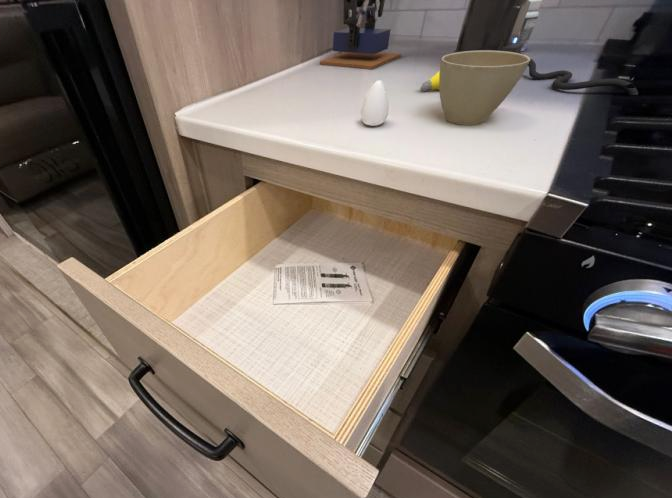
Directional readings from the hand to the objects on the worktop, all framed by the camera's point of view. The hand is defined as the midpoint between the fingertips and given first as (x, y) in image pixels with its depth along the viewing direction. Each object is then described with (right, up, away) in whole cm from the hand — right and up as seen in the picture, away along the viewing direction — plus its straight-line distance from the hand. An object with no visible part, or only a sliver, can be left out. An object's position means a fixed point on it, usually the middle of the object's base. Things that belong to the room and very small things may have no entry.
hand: (360, 45), depth 74 cm
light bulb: (+8, -22, -18) cm, 30 cm away
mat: (0, -2, +2) cm, 3 cm away
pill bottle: (+34, -3, -2) cm, 34 cm away
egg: (-6, -33, -27) cm, 43 cm away
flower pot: (+7, -33, -28) cm, 44 cm away
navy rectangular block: (0, -1, +1) cm, 1 cm away
